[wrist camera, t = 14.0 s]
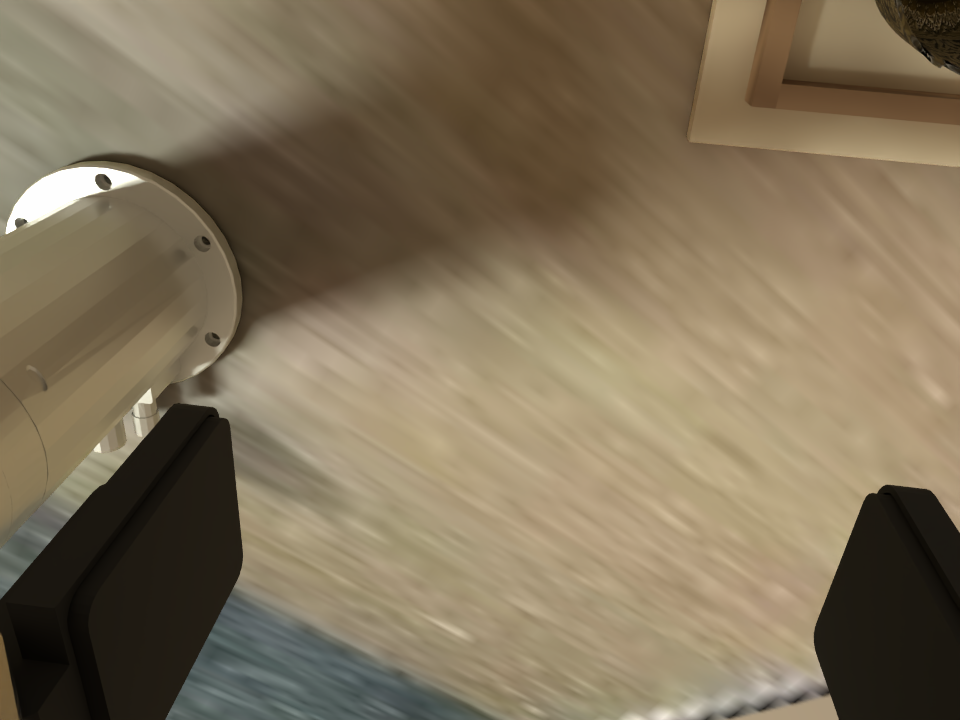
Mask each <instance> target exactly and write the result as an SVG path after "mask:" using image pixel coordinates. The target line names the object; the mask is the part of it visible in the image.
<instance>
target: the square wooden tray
mask: <svg viewBox="0 0 960 720" xmlns="http://www.w3.org/2000/svg"><path fill="white" fill-rule="evenodd" d="M686 137H687V139H688V141H689V142H694V143H705V144H716V145H726V146H737V147H748V148H759V149H770V150H780V151H791V152H802V153H813V154H824V155H834V156H845V157H856V158H867V159H877V160H888V161H899V162H910V163H921V164H931V165H942V166H953V167H960V75H959V74H957V73H955V72H953V71H951V70H949V69H947V68H946V67H944V66H943V67H941V68H938V67H937V66H935V65H933V64H932V63H931V62H929V60H928V59H927V58H926V57H925V56H924V55H922V54H921V53H920V52H918V51H917V50H916V49H914V48H913V47H912V46H911V45H909V44H908V43H907V42H906V41H904V40H903V39H902V38H901V37H900V36H899V35H897V34H896V33H895V31H894V30H893V29H892V28H891V27H890V26H889V25H888V23H887V22H886V21H885V19H884V18H883V16H882V15H881V13H880V11H879V9H878V7H877V5H876V2H875V0H713V3H712V8H711V13H710V18H709V23H708V28H707V33H706V39H705V44H704V49H703V54H702V59H701V64H700V69H699V75H698V80H697V85H696V90H695V95H694V100H693V105H692V111H691V116H690V121H689V126H688V131H687V136H686Z"/></svg>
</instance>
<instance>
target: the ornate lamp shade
mask: <svg viewBox="0 0 960 720" xmlns="http://www.w3.org/2000/svg"><path fill="white" fill-rule="evenodd" d="M875 2H876V5H877V7H878V9H879V11H880V13H881V15H882V16H883V18H884V19H885V21H886V22H887V23H888V25H889V26H890V27H891V28H892V29H893V30H894V31H895V33H896V34H897V35H899V36H900V37H901V38H902V39H903V40H904V41H906V42H907V43H908V44H909V45H911V46H912V47H913V48H914V49H916V50H917V51H918V52H920V53H921V54H922V55H924V56H925V57H926V58H927V59H928V60H929V62H931V63H932V64H933V65H935V66H937V67H938V68H941V67H943V66H944V67H946V68H947V69H949V70H951V71H953V72H955V73H957V74H959V75H960V0H875Z"/></svg>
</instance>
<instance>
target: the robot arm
mask: <svg viewBox="0 0 960 720" xmlns="http://www.w3.org/2000/svg"><path fill="white" fill-rule="evenodd" d="M109 178H110V179H111V180H110V179H109ZM205 237H206V238H207V239H208V240H209V241H210V242H208V241H207V240H206V238H205ZM242 301H243V298H242V286H241V278H240V274H239V271H238V267H237V263H236V260H235V257H234V255H233V253H232V251H231V249H230V247H229V245H228V243H227V240H226V238H225V237H224V235H223V234H222V232H221V231H220V229H219V228H218V227H217V225H216V224H215V222H214V221H213V220H212V218H211V217H210V216H209V215H208V214H207V213H206V212H205V211H204V210H203V209H202V208H201V206H200V205H199V204H198V203H197V202H196V201H195V200H194V199H193V198H191V197H190V196H189V195H187V194H186V193H185V192H183V191H182V190H181V189H179V188H178V187H177V186H175V185H174V184H173V183H171V182H169V181H167V180H165V179H163V178H161V177H159V176H157V175H156V174H154V173H152V172H149V171H146V170H143V169H141V168H138V167H135V166H132V165H129V164H123V163H116V162H109V161H89V162H80V163H76V164H72V165H69V166H65V167H62V168H60V169H58V170H55V171H53V172H51V173H49V174H47V175H45V176H43V177H41V178H40V179H39V180H37V181H36V182H35V183H33V184H32V185H31V186H29V187H28V188H27V189H26V190H25V192H24V193H23V194H22V195H21V197H20V198H19V199H18V200H17V202H16V203H15V205H14V207H13V209H12V211H11V213H10V215H9V218H8V222H7V227H6V233H5V235H3V236H1V237H0V549H1V548H2V546H3V545H4V544H5V543H6V542H7V541H8V540H9V539H10V538H11V537H12V536H13V535H14V533H15V532H16V531H17V530H18V529H19V528H20V527H21V526H22V525H23V524H24V523H25V522H26V521H27V519H28V518H29V517H30V516H31V515H32V514H33V513H34V512H35V511H36V510H37V509H38V508H39V507H40V506H41V505H42V504H43V503H44V502H45V501H46V500H47V499H48V497H49V496H50V495H51V494H52V493H53V492H54V491H55V490H56V489H57V488H58V487H59V486H60V485H61V483H62V482H63V481H64V480H65V479H66V478H67V477H68V476H69V475H70V474H71V473H72V472H73V471H74V470H75V468H76V467H77V466H78V465H79V464H80V463H81V462H82V461H83V460H84V459H85V458H86V457H87V456H88V454H89V453H90V452H91V451H92V450H93V451H95V452H100V453H106V452H112V451H115V450H118V449H120V448H121V447H123V446H124V445H125V443H126V441H127V439H126V434H125V428H124V423H123V417H124V416H125V415H126V414H127V413H128V412H129V410H130V409H131V408H132V411H133V412H132V418H133V424H134V430H135V433H136V435H137V436H140V437H145V438H144V439H143V440H142V442H141V443H140V444H139V445H138V446H137V448H136V449H135V450H134V451H133V452H132V453H131V455H130V456H129V457H128V458H127V459H126V461H125V462H124V463H123V464H122V465H121V466H120V468H119V469H118V470H117V471H116V472H115V473H114V475H113V476H112V477H111V478H110V479H109V481H108V482H107V483H106V484H104V485H101V486H99V487H98V488H97V489H96V490H95V491H94V492H93V493H92V494H91V495H90V496H89V497H88V498H87V500H86V501H85V502H84V503H83V504H82V505H81V507H80V508H79V509H78V510H77V511H76V512H75V514H74V515H73V516H72V517H71V518H70V519H69V521H68V522H67V523H66V524H65V525H64V526H63V528H62V529H61V530H60V531H59V532H58V533H57V535H56V536H55V537H54V538H53V539H52V540H51V542H50V543H49V544H48V545H47V546H46V547H45V548H44V550H43V551H42V552H41V553H40V554H39V555H38V557H37V558H36V559H35V560H34V561H33V562H32V564H31V565H30V566H29V567H28V568H27V569H26V571H25V572H24V573H23V574H22V575H21V576H20V578H19V579H18V580H17V581H16V582H15V583H14V585H13V586H12V587H11V588H10V589H9V590H8V592H7V593H6V594H5V595H4V596H3V597H2V599H1V600H0V720H165V719H166V717H167V715H168V713H169V711H170V709H171V707H172V705H173V703H174V701H175V699H176V697H177V695H178V694H179V692H180V690H181V688H182V686H183V684H184V682H185V680H186V678H187V676H188V674H189V672H190V670H191V668H192V666H193V665H194V663H195V661H196V659H197V657H198V655H199V653H200V651H201V649H202V647H203V645H204V643H205V641H206V639H207V637H208V636H209V634H210V632H211V630H212V628H213V626H214V624H215V622H216V620H217V618H218V616H219V614H220V612H221V610H222V608H223V606H224V605H225V603H226V601H227V599H228V597H229V595H230V593H231V591H232V589H233V587H234V585H235V583H236V581H237V579H238V577H239V575H240V571H241V567H242V561H243V549H242V539H241V530H240V520H239V510H238V500H237V490H236V480H235V470H234V461H233V451H232V441H231V431H230V424H229V422H228V420H227V419H226V418H219V414H218V412H217V410H216V409H215V408H213V407H206V406H197V405H189V404H180V403H178V404H174V405H173V406H172V407H171V408H170V409H169V410H168V411H167V412H166V413H165V415H164V416H163V417H162V418H161V419H160V416H159V410H158V409H157V405H156V398H157V397H158V396H159V395H160V394H161V392H162V391H163V390H164V389H165V388H166V387H167V386H168V385H169V384H172V383H177V382H181V381H184V380H186V379H188V378H191V377H193V376H196V375H198V374H199V373H201V372H202V371H203V370H205V369H206V368H208V367H209V366H210V365H212V364H213V363H214V362H215V361H216V359H217V358H218V357H219V356H220V355H221V354H222V353H223V352H224V350H225V349H226V347H227V346H228V344H229V343H230V341H231V340H232V338H233V337H234V335H235V332H236V329H237V327H238V324H239V321H240V317H241V309H242ZM814 646H815V651H816V654H817V657H818V660H819V663H820V666H821V669H822V672H823V675H824V677H825V680H826V683H827V686H828V689H829V692H830V695H831V698H832V700H833V703H834V706H835V709H836V712H837V715H838V718H839V720H960V533H959V531H958V530H957V528H956V527H955V525H954V524H953V522H952V520H951V519H950V517H949V516H948V514H947V513H946V511H945V510H944V508H943V507H942V505H941V504H940V502H939V501H938V499H937V498H936V496H935V495H934V494H933V493H932V492H931V491H930V490H927V489H920V488H912V487H903V486H894V485H885V486H883V487H882V488H881V489H880V490H879V491H878V493H877V494H875V493H871V494H868V495H867V496H866V498H865V500H864V502H863V504H862V507H861V510H860V512H859V515H858V517H857V520H856V522H855V525H854V528H853V530H852V533H851V535H850V538H849V540H848V543H847V546H846V548H845V551H844V553H843V556H842V558H841V561H840V564H839V566H838V569H837V571H836V574H835V576H834V579H833V582H832V584H831V587H830V589H829V592H828V595H827V597H826V600H825V602H824V605H823V607H822V610H821V613H820V615H819V618H818V620H817V623H816V626H815V631H814Z"/></svg>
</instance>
